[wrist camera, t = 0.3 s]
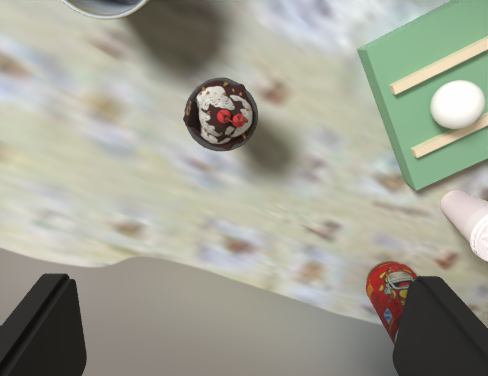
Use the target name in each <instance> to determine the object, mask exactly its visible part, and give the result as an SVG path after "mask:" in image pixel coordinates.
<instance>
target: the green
mask: <svg viewBox="0 0 488 376" xmlns="http://www.w3.org/2000/svg"><path fill="white" fill-rule="evenodd" d="M357 51H358V53H359V56H360V59H361V62H362V64H363V67H364V70H365V73H366V75H367V78H368V81H369V84H370V86H371V89H372V92H373V95H374V97H375V100H376V103H377V106H378V108H379V111H380V114H381V117H382V119H383V122H384V125H385V128H386V131H387V133H388V136H389V139H390V142H391V144H392V147H393V150H394V153H395V155H396V158H397V161H398V164H399V166H400V169H401V172H402V175H403V177H404V180H405V182H406V183H407V184H408V185H410V186H411V187H412V188H413V189H415V190H419V189H421V188H423V187H425V186H428V185H430V184H432V183H434V182H436V181H439V180H441V179H443V178H445V177H447V176H450V175H452V174H454V173H456V172H458V171H461V170H463V169H465V168H467V167H470V166H472V165H474V164H476V163H478V162H481V161H483V160H485V159H487V158H488V0H452V1H450V2H448V3H446V4H444V5H442V6H440V7H438V8H436V9H434V10H433V11H431V12H429V13H427V14H425V15H423V16H421V17H419V18H417V19H415V20H413V21H411V22H409V23H407V24H405V25H404V26H402V27H400V28H398V29H396V30H394V31H392V32H390V33H388V34H386V35H384V36H382V37H380V38H378V39H376V40H374V41H373V42H371V43H369V44H367V45H365V46H363V47H361V48H359V49H357ZM456 80H466V81H469V82H472V83H474V84H476V85H477V86H478V87H479V88H480V89H481V90H482V92H483V94H484V97H485V107H484V110H483V112H482V114H481V116H480V117H479V118H478V119H477V120H476V121H475V122H474V123H472V124H471V125H469V126H467V127H464V128H459V129H450V128H446V127H443V126H441V125H440V124H438V123H437V122H436V121H435V120H434V118H433V116H432V114H431V110H430V104H431V100H432V97H433V95H434V94H435V92H436V91H437V90H438V89H439V88H440V87H441V86H443V85H444V84H446V83H449V82H451V81H456Z"/></svg>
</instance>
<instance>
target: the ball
mask: <svg viewBox="0 0 488 376" xmlns="http://www.w3.org/2000/svg"><path fill="white" fill-rule="evenodd" d="M484 107H485V97H484V94H483V92H482V90H481V89H480V88H479V87H478V86H477V85H476V84H474V83H472V82H469V81H466V80H456V81H451V82H449V83H446V84H444V85H443V86H441V87H440V88H439V89H438V90H437V91H436V92H435V94H434V95H433V97H432V100H431V104H430V110H431V114H432V116H433V118H434V120H435V121H436V122H437V123H438V124H440V125H441V126H443V127H446V128H450V129H459V128H464V127H467V126H469V125H471V124H472V123H474V122H475V121H476V120H477V119H478V118H479V117H480V116H481V114H482V112H483V110H484Z"/></svg>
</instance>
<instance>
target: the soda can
mask: <svg viewBox="0 0 488 376" xmlns="http://www.w3.org/2000/svg"><path fill="white" fill-rule="evenodd" d="M416 278H417V276H416V275H415V273H414V272H413V271H412V270H411V269H410V268H408V267H407V266H405V265H402V264H399V263H397V262H393V261H385V262H381V263H379V264H377V265H376V266H374V267H373V268H372V269H371V270H370V272H369V273H368V276H367V285H366V292H367V295H368V297H369V299H370V301H371V303H372V304H373V306H374V308H375V310H376V312H377V313H378V315H379V317H380V319H381V321H382V323H383V325H384V327H385V328H386V330H387V332H388V334H389V336H390V338H391V339H392V341H393V343H394V345H395V342H396V338H397V334H398V329H399V325H400V321H401V317H402V312H403V308H404V304H405V299H406V295H407V291H408V287H409V284H410V282H412V281H415V279H416Z"/></svg>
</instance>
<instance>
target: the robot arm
mask: <svg viewBox="0 0 488 376" xmlns="http://www.w3.org/2000/svg"><path fill="white" fill-rule="evenodd" d="M86 357H87V356H86V348H85V341H84V334H83V328H82V321H81V314H80V307H79V300H78V294H77V287H76V282H75V280H74V279H69V276H68V275H67V274H43V275H42V276H41V277H40V278H39V280H38V281H37V282H36V283H35V285H34V286H33V287H32V288H31V290H30V291H29V292H28V293H27V295H26V296H25V297H24V298H23V300H22V301H21V302H20V303H19V305H18V306H17V307H16V309H15V310H14V311H13V312H12V313H11V315H10V316H9V317H8V318H7V320H6V321H5V322H4V323H3V325H1V326H0V376H82V374H83V371H84V369H85V365H86ZM393 363H394V366H395V369H396V371H397V373H398V375H399V376H488V328H487V327H486V326H485V325H484V324H483V323H482V322H481V321H480V320H479V319H478V318H477V316H476V315H475V314H474V313H473V312H472V311H471V310H470V309H469V308H468V307H467V306H466V304H465V303H464V302H463V301H462V300H461V299H460V298H459V297H458V296H457V295H456V294H455V292H454V291H453V290H452V289H451V288H450V287H449V286H448V285H447V284H446V283H445V282H444V280H443V279H441V278H440V277H437V276H419V277H417V278H416V279H415V281H412V282H410V284H409V287H408V291H407V295H406V299H405V304H404V308H403V312H402V317H401V321H400V325H399V329H398V334H397V338H396V342H395V347H394V351H393Z"/></svg>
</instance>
